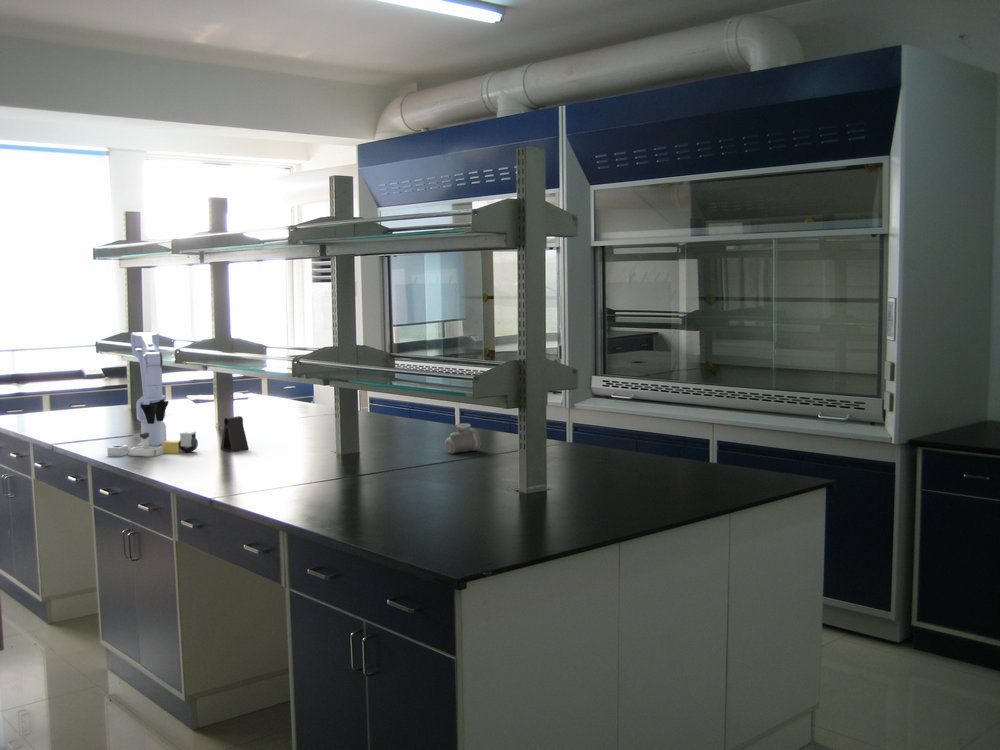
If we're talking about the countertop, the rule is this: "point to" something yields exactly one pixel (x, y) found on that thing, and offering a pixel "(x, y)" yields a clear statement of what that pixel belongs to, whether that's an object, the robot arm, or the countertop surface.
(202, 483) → the countertop surface
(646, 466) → the countertop surface
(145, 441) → the stop pin
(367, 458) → the countertop surface
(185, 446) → the castor
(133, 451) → the tray
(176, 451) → the block
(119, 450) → the socket block
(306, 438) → the countertop surface
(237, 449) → the phone stand
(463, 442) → the pipe fitting
